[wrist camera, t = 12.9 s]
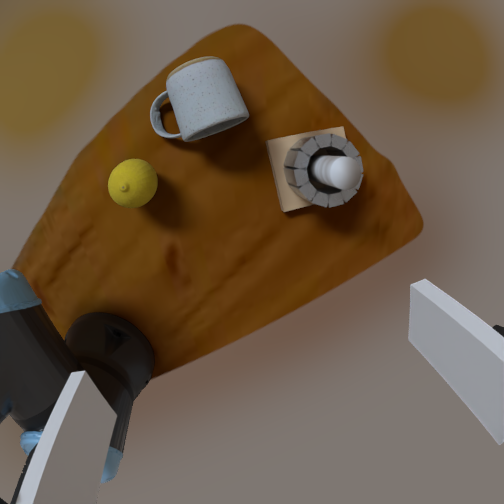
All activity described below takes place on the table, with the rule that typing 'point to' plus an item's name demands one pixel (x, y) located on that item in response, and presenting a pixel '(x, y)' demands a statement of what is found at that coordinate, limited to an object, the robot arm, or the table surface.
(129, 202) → the lemon
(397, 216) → the table surface
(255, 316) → the table surface
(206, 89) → the ceramic mug
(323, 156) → the shaft stand
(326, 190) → the ring
